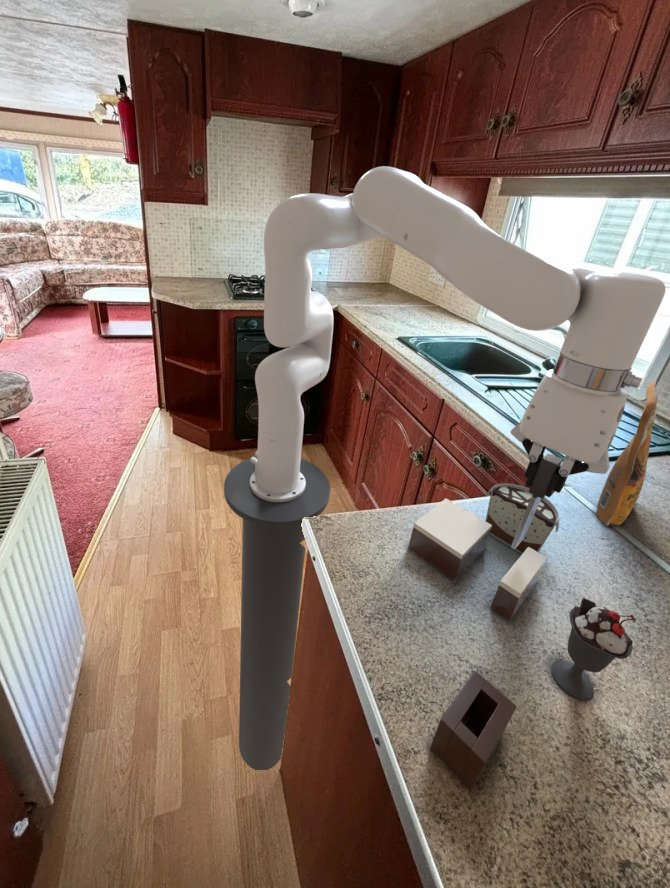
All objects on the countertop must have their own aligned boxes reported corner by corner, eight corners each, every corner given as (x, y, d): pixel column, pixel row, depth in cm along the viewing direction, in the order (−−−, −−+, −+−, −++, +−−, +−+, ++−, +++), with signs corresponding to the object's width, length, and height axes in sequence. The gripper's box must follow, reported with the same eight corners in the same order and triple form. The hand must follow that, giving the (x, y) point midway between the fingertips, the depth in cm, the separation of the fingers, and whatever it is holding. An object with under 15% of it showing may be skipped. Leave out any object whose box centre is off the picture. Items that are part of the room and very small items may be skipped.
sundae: (605, 718, 51) (657, 640, 44) (544, 688, 53) (585, 611, 47) (598, 671, 56) (644, 596, 50) (543, 645, 59) (580, 571, 53)
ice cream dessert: (554, 550, 76) (573, 508, 72) (541, 566, 72) (560, 523, 68) (491, 513, 84) (504, 474, 80) (476, 525, 81) (489, 485, 77)
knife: (506, 544, 63) (539, 460, 56) (516, 533, 66) (549, 450, 59) (519, 552, 62) (555, 467, 55) (529, 540, 64) (565, 457, 58)
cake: (408, 547, 74) (414, 522, 72) (439, 521, 81) (445, 498, 79) (454, 581, 68) (462, 555, 66) (483, 549, 75) (492, 525, 73)
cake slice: (490, 607, 64) (500, 580, 62) (517, 571, 71) (528, 546, 68) (509, 621, 62) (520, 594, 60) (535, 583, 69) (547, 557, 66)
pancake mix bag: (579, 517, 85) (634, 398, 74) (603, 483, 97) (653, 376, 86) (618, 536, 81) (682, 412, 69) (637, 497, 93) (695, 387, 81)
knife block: (429, 748, 47) (440, 718, 44) (463, 699, 52) (474, 670, 49) (470, 792, 43) (485, 763, 41) (502, 735, 48) (517, 705, 46)
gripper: (672, 388, 49) (610, 507, 56) (534, 349, 59) (497, 454, 67) (661, 404, 44) (595, 531, 52) (513, 358, 54) (476, 470, 62)
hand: (540, 487), depth 59 cm, fingers closed on knife, 2 cm apart
